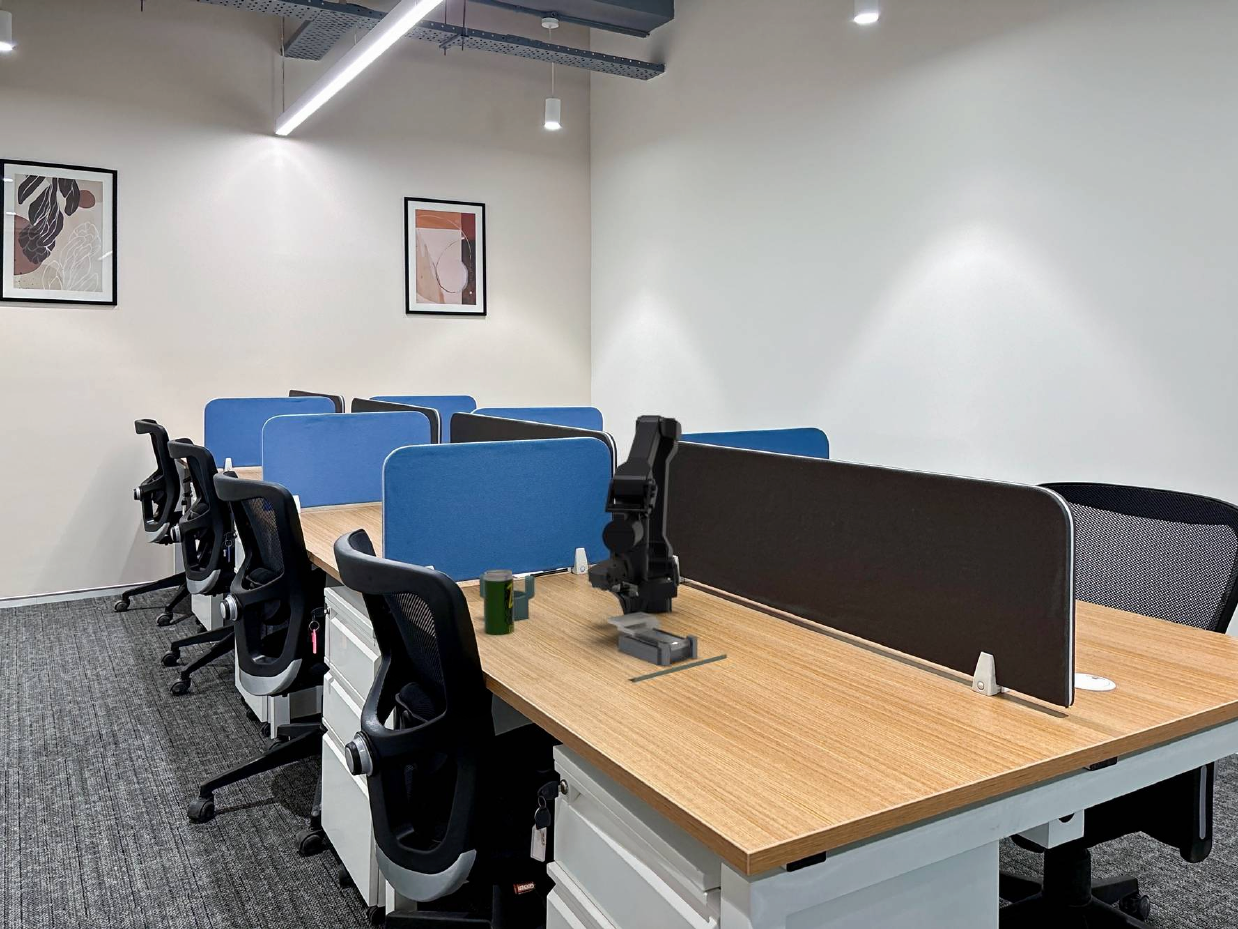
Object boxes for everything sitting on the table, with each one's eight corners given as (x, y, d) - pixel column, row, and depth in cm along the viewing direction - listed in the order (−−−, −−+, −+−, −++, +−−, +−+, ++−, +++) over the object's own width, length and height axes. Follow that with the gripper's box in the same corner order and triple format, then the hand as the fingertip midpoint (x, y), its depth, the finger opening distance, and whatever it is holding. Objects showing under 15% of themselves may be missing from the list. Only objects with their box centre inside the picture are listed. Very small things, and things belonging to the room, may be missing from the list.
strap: (632, 627, 162) (633, 620, 162) (690, 648, 151) (690, 640, 151) (614, 631, 160) (614, 623, 160) (671, 653, 148) (671, 644, 148)
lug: (644, 635, 165) (644, 610, 165) (659, 640, 162) (659, 615, 162) (606, 644, 160) (606, 618, 160) (621, 649, 157) (621, 623, 157)
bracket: (537, 622, 180) (537, 576, 179) (493, 628, 175) (493, 581, 175) (518, 612, 188) (518, 568, 187) (475, 618, 183) (475, 573, 182)
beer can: (484, 642, 166) (483, 576, 165) (484, 634, 171) (483, 569, 170) (514, 641, 167) (513, 575, 166) (513, 633, 172) (512, 569, 171)
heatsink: (654, 643, 161) (654, 622, 161) (699, 658, 152) (699, 636, 152) (618, 652, 156) (618, 630, 156) (662, 668, 147) (662, 644, 147)
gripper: (564, 539, 167) (564, 624, 168) (629, 557, 152) (628, 650, 154) (614, 532, 173) (613, 614, 175) (680, 549, 159) (678, 638, 160)
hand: (631, 628), depth 166 cm, fingers closed
